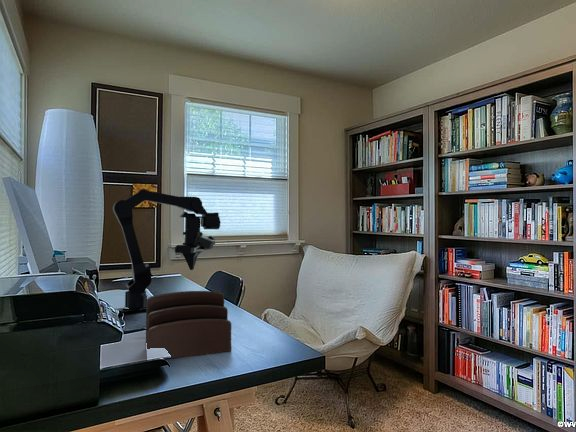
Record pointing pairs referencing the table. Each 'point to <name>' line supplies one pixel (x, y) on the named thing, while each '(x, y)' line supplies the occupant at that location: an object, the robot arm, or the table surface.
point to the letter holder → (188, 323)
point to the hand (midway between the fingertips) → (191, 269)
